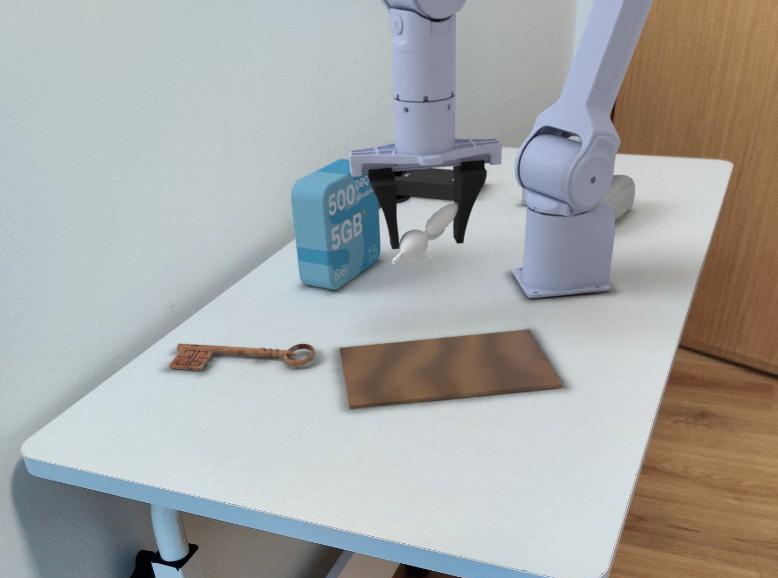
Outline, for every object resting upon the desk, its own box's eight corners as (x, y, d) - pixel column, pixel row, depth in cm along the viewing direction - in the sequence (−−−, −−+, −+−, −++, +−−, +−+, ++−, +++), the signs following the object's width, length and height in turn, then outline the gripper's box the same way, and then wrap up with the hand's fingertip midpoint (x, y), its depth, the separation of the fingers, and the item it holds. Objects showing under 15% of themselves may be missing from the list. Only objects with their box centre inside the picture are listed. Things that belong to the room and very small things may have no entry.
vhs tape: (483, 185, 127) (484, 171, 126) (465, 201, 122) (465, 187, 121) (398, 178, 132) (398, 165, 131) (377, 193, 127) (376, 179, 126)
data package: (331, 294, 98) (322, 188, 91) (299, 288, 100) (288, 183, 92) (381, 259, 106) (377, 158, 98) (351, 254, 108) (344, 155, 100)
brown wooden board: (529, 332, 88) (529, 329, 87) (561, 387, 78) (562, 383, 78) (339, 351, 87) (339, 347, 86) (349, 409, 77) (349, 405, 77)
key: (164, 370, 86) (303, 380, 82) (162, 363, 85) (302, 372, 82) (187, 341, 90) (320, 349, 86) (185, 333, 89) (319, 341, 86)
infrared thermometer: (534, 202, 122) (636, 209, 115) (498, 229, 115) (604, 237, 107) (534, 169, 120) (638, 173, 112) (497, 194, 112) (606, 200, 105)
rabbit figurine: (379, 257, 88) (436, 208, 88) (403, 287, 88) (459, 238, 89) (388, 244, 82) (449, 191, 82) (414, 276, 83) (474, 224, 83)
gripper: (349, 111, 74) (359, 263, 82) (512, 98, 74) (504, 250, 83) (343, 94, 79) (353, 239, 88) (494, 82, 80) (489, 226, 88)
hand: (426, 243), depth 86 cm, fingers closed on rabbit figurine, 6 cm apart
